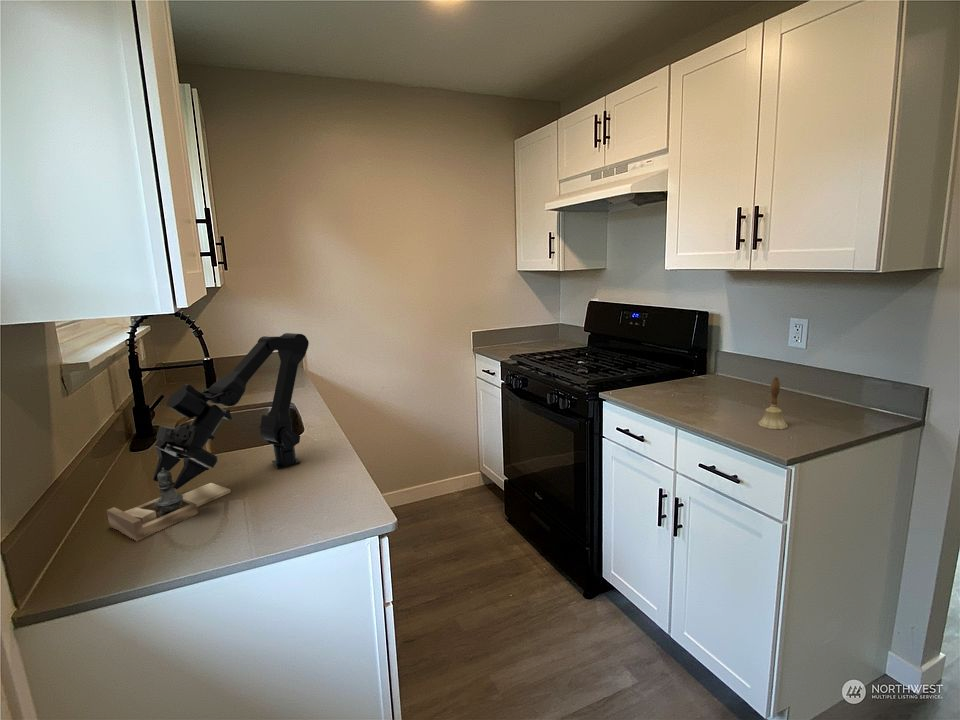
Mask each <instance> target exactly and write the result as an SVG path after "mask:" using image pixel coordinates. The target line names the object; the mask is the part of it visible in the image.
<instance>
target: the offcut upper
mask: <svg viewBox="0 0 960 720" xmlns="http://www.w3.org/2000/svg"><path fill="white" fill-rule="evenodd" d="M134 508H135V507H134ZM127 513H128V514H130V515H132V516H134V517H136V518H138V519H140V520H141V522H142V525H143V524H146V523H148V522H150V521H153V520H155V519H157V514H156V513H157V512H156V511H152V510H146V509H140V508H135V509H133V510H131V511H129V512H127Z"/></svg>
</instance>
